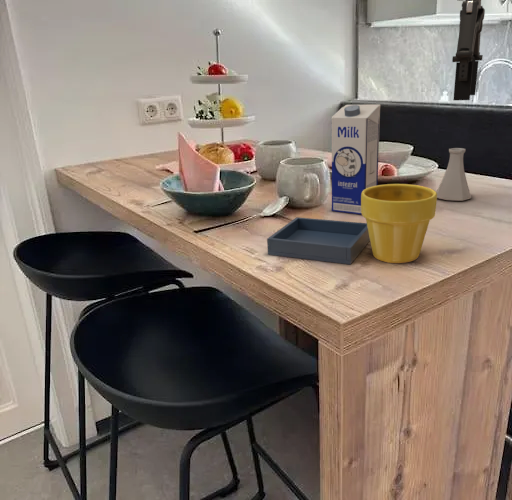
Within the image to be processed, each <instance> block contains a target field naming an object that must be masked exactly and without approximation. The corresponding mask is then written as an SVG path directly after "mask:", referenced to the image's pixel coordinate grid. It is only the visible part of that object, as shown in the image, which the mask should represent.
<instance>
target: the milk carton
mask: <svg viewBox="0 0 512 500" xmlns="http://www.w3.org/2000/svg"><path fill="white" fill-rule="evenodd" d="M381 106H382V105H381V104H379V103H378V104H377V103H376V104H375V103H374V104H345V105H344V106H342V107H341V108H340V109H339V110H337V111H336V112H335V113H334V114H333V115H332V116H331V118H330V119H331V212H336V213H344V214H353V215H362V213H361V193H362V191H363V190H364V189H366V188H369V187H372V186H377V185H379V184H378V183H379V154H380V153H379V152H380V151H379V150H380V121H381V120H380V119H381ZM362 216H363V215H362Z"/></svg>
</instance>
